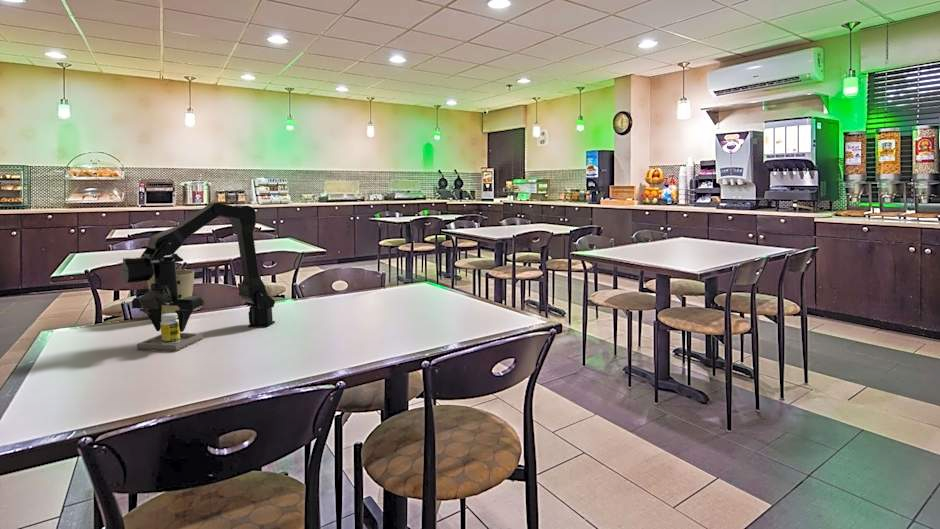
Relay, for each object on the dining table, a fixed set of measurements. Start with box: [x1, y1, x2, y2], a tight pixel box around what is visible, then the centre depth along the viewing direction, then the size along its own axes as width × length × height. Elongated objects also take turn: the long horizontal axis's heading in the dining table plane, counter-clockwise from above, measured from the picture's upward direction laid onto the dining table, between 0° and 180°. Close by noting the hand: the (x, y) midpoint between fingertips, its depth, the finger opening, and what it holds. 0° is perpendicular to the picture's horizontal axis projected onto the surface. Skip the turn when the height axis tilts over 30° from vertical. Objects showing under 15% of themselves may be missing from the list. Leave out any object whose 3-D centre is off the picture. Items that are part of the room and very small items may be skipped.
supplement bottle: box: [160, 313, 181, 344], centre depth 155 cm, size 5×5×8 cm
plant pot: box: [146, 269, 195, 317], centre depth 187 cm, size 15×15×16 cm
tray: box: [136, 332, 204, 352], centre depth 156 cm, size 12×12×2 cm
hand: (170, 331), depth 155 cm, fingers open, 7 cm apart
